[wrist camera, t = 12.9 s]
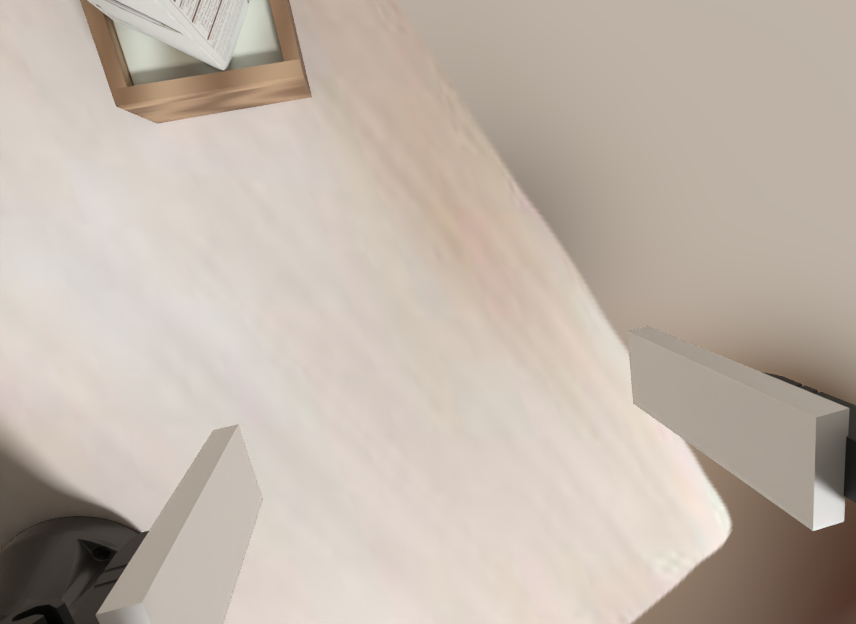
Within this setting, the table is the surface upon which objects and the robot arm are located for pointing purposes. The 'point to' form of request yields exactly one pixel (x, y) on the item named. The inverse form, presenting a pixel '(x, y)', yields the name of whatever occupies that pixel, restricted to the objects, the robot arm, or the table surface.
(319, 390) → the table surface
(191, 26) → the supplement box
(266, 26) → the brown square open box
